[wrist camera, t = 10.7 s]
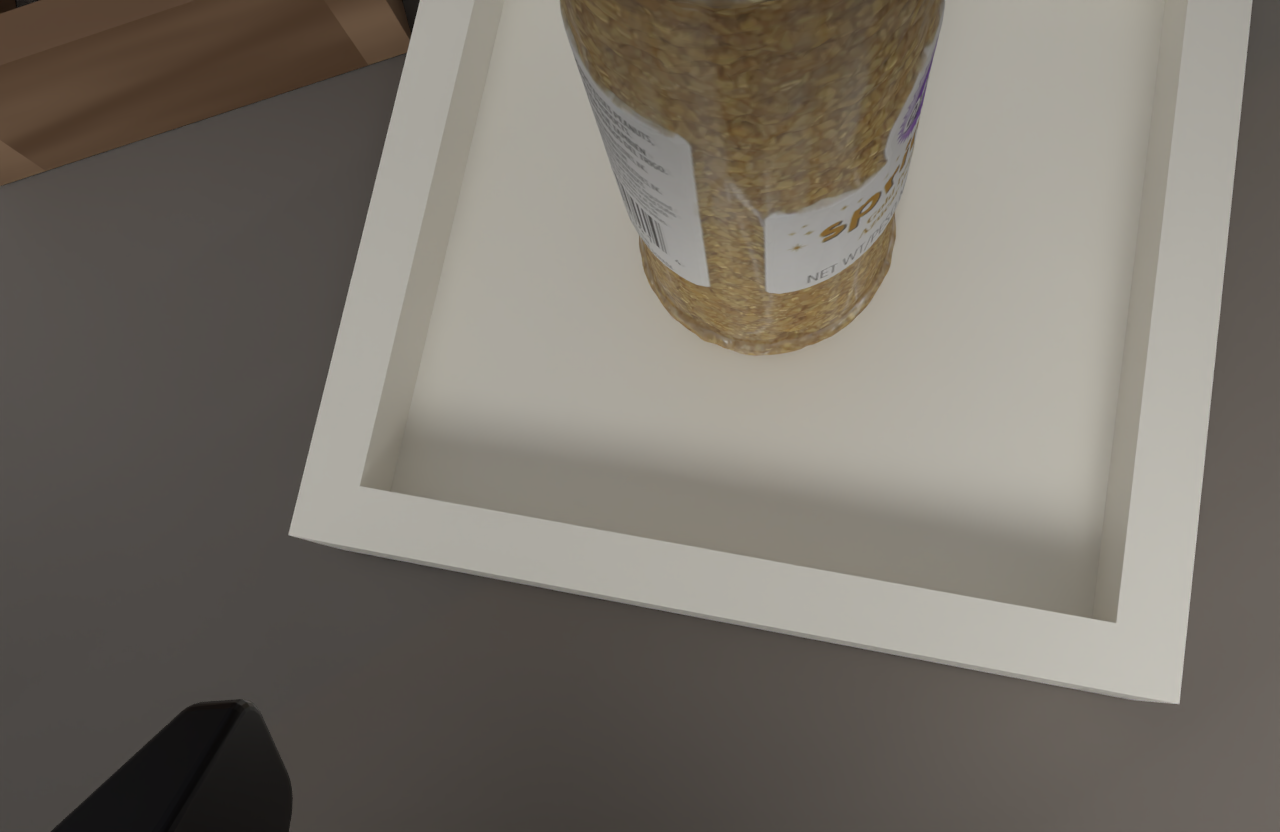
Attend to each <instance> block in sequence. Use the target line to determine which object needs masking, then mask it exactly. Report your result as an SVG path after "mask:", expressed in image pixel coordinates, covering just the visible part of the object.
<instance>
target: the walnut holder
mask: <svg viewBox="0 0 1280 832" xmlns="http://www.w3.org/2000/svg"><path fill="white" fill-rule="evenodd" d="M410 39H411V32H410V28H409V24H408V20H407V17H406V13H405V9H404V6H403V2H402V0H40V1H37V2H34V3H31V4H28V5H25V6H22V7H19V8H16V3H15V0H0V186H2V185H5V184H8V183H11V182H14V181H17V180H20V179H23V178H26V177H29V176H32V175H35V174H38V173H41V172H45V171H48V170H51V169H54V168H57V167H60V166H63V165H66V164H69V163H72V162H75V161H78V160H81V159H84V158H87V157H90V156H93V155H96V154H99V153H102V152H105V151H108V150H112V149H115V148H118V147H121V146H124V145H127V144H130V143H133V142H136V141H139V140H142V139H145V138H148V137H151V136H154V135H157V134H160V133H163V132H166V131H169V130H172V129H175V128H179V127H182V126H185V125H188V124H191V123H194V122H197V121H200V120H203V119H206V118H209V117H212V116H215V115H218V114H221V113H224V112H227V111H230V110H233V109H236V108H239V107H243V106H246V105H249V104H252V103H255V102H258V101H261V100H264V99H267V98H270V97H273V96H276V95H279V94H282V93H285V92H288V91H291V90H294V89H297V88H300V87H303V86H306V85H310V84H313V83H316V82H319V81H322V80H325V79H328V78H331V77H334V76H337V75H340V74H343V73H346V72H349V71H352V70H355V69H358V68H361V67H364V66H367V65H370V64H373V63H377V62H380V61H383V60H386V59H389V58H392V57H395V56H398V55H401V54H404V53H407V51H408V47H409V43H410Z"/></svg>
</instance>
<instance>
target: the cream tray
mask: <svg viewBox="0 0 1280 832" xmlns="http://www.w3.org/2000/svg"><path fill="white" fill-rule="evenodd" d="M1252 1H1253V0H945V9H944V16H943V22H942V26H941V30H940V34H939V37H938V42H937V46H936V50H935V53H934V57H933V61H932V65H931V70H930V74H929V78H928V83H927V87H926V92H925V97H924V102H923V106H922V110H921V114H920V119H919V124H918V129H917V134H916V139H915V144H914V150H913V154H912V158H911V163H910V167H909V171H908V176H907V180H906V183H905V186H904V190H903V193H902V196H901V199H900V201H899V204H898V206H897V208H896V210H895V223H896V240H895V244H894V247H893V252H892V259H891V265H890V268H889V271H888V273H887V274H886V276H885V278H884V279H883V281H882V283H881V285H880V287H879V288H878V290H877V292H876V293H875V295H874V297H873V298H872V300H871V301H870V303H869V304H868V305H867V307H866V308H865V309H864V310H863V311H862V312H861V313H860V314H859V315H858V316H857V317H856V318H855V319H854V320H853V321H852V322H851V323H850V324H849V325H847V326H846V327H845V328H843V329H842V330H840V331H839V332H837V333H836V334H835V335H833V336H832V337H829V338H826V339H824V340H822V341H820V342H818V343H816V344H813V345H808V346H806V347H804V348H802V349H800V350H797V351H793V352H788V353H782V354H775V355H758V356H755V355H746V354H741V353H738V352H735V351H733V350H730V349H726V348H723V347H721V346H719V345H717V344H713V343H709V342H706V341H704V340H702V339H700V338H699V337H698V336H697V335H696V334H694V333H693V332H691V331H690V330H688V329H687V328H685V327H684V326H683V325H682V324H681V323H679V322H678V321H676V320H675V319H674V318H673V317H672V316H671V315H670V314H669V312H668V311H667V310H666V309H665V307H664V306H663V305H662V303H661V302H660V300H659V299H658V297H657V295H656V294H655V293H654V291H653V290H652V288H651V286H650V284H649V282H648V280H647V277H646V275H645V272H644V269H643V265H642V257H641V253H640V248H639V234H638V233H637V231H636V229H635V227H634V226H633V224H632V222H631V220H630V218H629V215H628V213H627V210H626V208H625V205H624V202H623V199H622V196H621V194H620V191H619V188H618V185H617V182H616V179H615V176H614V173H613V171H612V168H611V164H610V161H609V158H608V155H607V152H606V149H605V146H604V143H603V140H602V137H601V134H600V131H599V128H598V126H597V123H596V120H595V117H594V114H593V111H592V108H591V105H590V102H589V99H588V96H587V93H586V90H585V87H584V84H583V81H582V78H581V76H580V73H579V70H578V67H577V64H576V61H575V58H574V55H573V52H572V49H571V46H570V43H569V40H568V37H567V34H566V31H565V28H564V24H563V20H562V16H561V12H560V0H420V2H419V6H418V10H417V14H416V18H415V22H414V26H413V31H412V35H411V39H410V43H409V47H408V51H407V55H406V59H405V63H404V67H403V71H402V75H401V79H400V83H399V87H398V91H397V95H396V100H395V104H394V108H393V112H392V116H391V120H390V124H389V128H388V132H387V136H386V140H385V144H384V148H383V152H382V156H381V160H380V165H379V169H378V173H377V177H376V181H375V185H374V189H373V193H372V197H371V201H370V205H369V209H368V213H367V217H366V221H365V225H364V230H363V234H362V238H361V242H360V246H359V250H358V254H357V258H356V262H355V266H354V270H353V274H352V278H351V282H350V286H349V290H348V295H347V299H346V303H345V307H344V311H343V315H342V319H341V323H340V327H339V331H338V335H337V339H336V343H335V347H334V351H333V355H332V360H331V364H330V368H329V372H328V376H327V380H326V384H325V388H324V392H323V396H322V400H321V404H320V408H319V412H318V416H317V420H316V425H315V429H314V433H313V437H312V441H311V445H310V449H309V453H308V457H307V461H306V465H305V469H304V473H303V477H302V481H301V485H300V490H299V494H298V498H297V502H296V506H295V510H294V514H293V518H292V522H291V526H290V530H289V534H288V535H289V536H293V537H297V538H300V539H304V540H308V541H312V542H315V543H319V544H323V545H326V546H330V547H334V548H337V549H341V550H346V551H351V552H356V553H361V554H367V555H372V556H377V557H382V558H388V559H393V560H398V561H403V562H409V563H414V564H419V565H424V566H430V567H435V568H440V569H445V570H451V571H456V572H461V573H466V574H472V575H477V576H482V577H487V578H493V579H498V580H503V581H508V582H514V583H519V584H524V585H529V586H535V587H540V588H545V589H550V590H556V591H561V592H566V593H571V594H577V595H582V596H587V597H593V598H598V599H603V600H608V601H614V602H619V603H624V604H629V605H635V606H640V607H645V608H650V609H656V610H661V611H666V612H671V613H677V614H682V615H687V616H692V617H698V618H703V619H708V620H713V621H719V622H724V623H729V624H734V625H740V626H745V627H750V628H755V629H761V630H766V631H771V632H776V633H782V634H787V635H792V636H797V637H803V638H808V639H813V640H819V641H824V642H829V643H834V644H840V645H845V646H850V647H855V648H861V649H866V650H871V651H876V652H882V653H887V654H892V655H897V656H903V657H908V658H913V659H918V660H924V661H929V662H934V663H939V664H945V665H950V666H955V667H960V668H966V669H971V670H976V671H981V672H987V673H992V674H997V675H1002V676H1008V677H1013V678H1018V679H1023V680H1029V681H1034V682H1039V683H1044V684H1050V685H1055V686H1060V687H1066V688H1071V689H1076V690H1081V691H1087V692H1092V693H1097V694H1102V695H1108V696H1113V697H1118V698H1123V699H1129V700H1138V701H1149V702H1160V703H1171V704H1179V702H1180V693H1181V683H1182V673H1183V664H1184V654H1185V645H1186V635H1187V625H1188V616H1189V606H1190V597H1191V587H1192V577H1193V568H1194V558H1195V549H1196V539H1197V529H1198V520H1199V510H1200V500H1201V491H1202V481H1203V472H1204V462H1205V452H1206V443H1207V433H1208V424H1209V414H1210V404H1211V395H1212V385H1213V376H1214V366H1215V356H1216V347H1217V337H1218V328H1219V318H1220V308H1221V299H1222V289H1223V279H1224V270H1225V260H1226V251H1227V241H1228V231H1229V222H1230V212H1231V203H1232V193H1233V183H1234V174H1235V164H1236V155H1237V145H1238V135H1239V126H1240V116H1241V107H1242V97H1243V87H1244V78H1245V68H1246V58H1247V49H1248V39H1249V30H1250V20H1251V10H1252Z"/></svg>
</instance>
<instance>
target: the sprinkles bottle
mask: <svg viewBox="0 0 1280 832" xmlns="http://www.w3.org/2000/svg"><path fill="white" fill-rule="evenodd" d="M944 9H945V0H560V12H561V16H562V20H563V24H564V28H565V31H566V34H567V37H568V40H569V43H570V46H571V49H572V52H573V55H574V58H575V61H576V64H577V67H578V70H579V73H580V76H581V78H582V81H583V84H584V87H585V90H586V93H587V96H588V99H589V102H590V105H591V108H592V111H593V114H594V117H595V120H596V123H597V126H598V128H599V131H600V134H601V137H602V140H603V143H604V146H605V149H606V152H607V155H608V158H609V161H610V164H611V168H612V171H613V173H614V176H615V179H616V182H617V185H618V188H619V191H620V194H621V196H622V199H623V202H624V205H625V208H626V210H627V213H628V215H629V218H630V220H631V222H632V224H633V226H634V227H635V229H636V231H637V233H638V234H639V248H640V253H641V257H642V265H643V269H644V272H645V275H646V277H647V280H648V282H649V284H650V286H651V288H652V290H653V291H654V293H655V294H656V295H657V297H658V299H659V300H660V302H661V303H662V305H663V306H664V307H665V309H666V310H667V311H668V312H669V314H670V315H671V316H672V317H673V318H674V319H675V320H676V321H678V322H679V323H681V324H682V325H683V326H684V327H685V328H687V329H688V330H690V331H691V332H693V333H694V334H696V335H697V336H698V337H699V338H700V339H702V340H704V341H706V342H709V343H713V344H717V345H719V346H721V347H723V348H726V349H730V350H733V351H735V352H738V353H741V354H746V355H755V356H758V355H775V354H782V353H788V352H793V351H797V350H800V349H802V348H804V347H806V346H808V345H813V344H816V343H818V342H820V341H822V340H824V339H826V338H829V337H832V336H833V335H835V334H836V333H837V332H839V331H840V330H842V329H843V328H845V327H846V326H847V325H849V324H850V323H851V322H852V321H853V320H854V319H855V318H856V317H857V316H858V315H859V314H860V313H861V312H862V311H863V310H864V309H865V308H866V307H867V305H868V304H869V303H870V301H871V300H872V298H873V297H874V295H875V293H876V292H877V290H878V288H879V287H880V285H881V283H882V281H883V279H884V278H885V276H886V274H887V273H888V271H889V268H890V265H891V259H892V252H893V247H894V244H895V240H896V223H895V210H896V208H897V206H898V204H899V201H900V199H901V196H902V193H903V190H904V186H905V183H906V180H907V176H908V171H909V167H910V163H911V158H912V154H913V150H914V144H915V139H916V134H917V129H918V124H919V119H920V114H921V110H922V106H923V102H924V97H925V92H926V87H927V83H928V78H929V74H930V70H931V65H932V61H933V57H934V53H935V50H936V46H937V42H938V37H939V34H940V30H941V26H942V22H943V16H944Z"/></svg>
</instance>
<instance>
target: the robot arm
mask: <svg viewBox="0 0 1280 832" xmlns="http://www.w3.org/2000/svg"><path fill="white" fill-rule="evenodd" d="M292 799H293V798H292V787H291V783H290V779H289V776H288V773H287V770H286V768H285V766H284V764H283V761H282V759H281V757H280V755H279V752H278V750H277V748H276V746H275V743H274V741H273V739H272V737H271V734H270V732H269V730H268V728H267V725H266V723H265V721H264V719H263V716H262V714H261V713H260V711H259V709H258V708H257V707H256V706H255V705H254V704H253V703H252V702H250V701H248V700H243V699H238V700H225V701H211V702H200V703H196V704H193V705H191V706H189V707H187V708H186V709H185V710H183V711H182V712H181V713H179V714H178V715H177V716H176V717H175V718H174V719H173V720H172V721H171V722H170V723H169V724H167V725H166V726H165V727H164V728H163V729H162V730H161V731H160V732H159V733H158V734H157V735H155V736H154V737H153V738H152V739H151V740H150V741H149V742H148V743H147V744H146V745H145V746H143V747H142V748H141V749H140V750H139V751H138V752H137V753H136V754H135V755H134V756H133V757H131V758H130V759H129V760H128V761H127V762H126V763H125V764H124V765H123V766H122V767H121V768H119V769H118V770H117V771H116V772H115V773H114V774H113V775H112V776H111V777H110V778H109V779H107V780H106V781H105V782H104V783H103V784H102V785H101V786H100V787H99V788H98V789H97V790H95V791H94V792H93V793H92V794H91V795H90V796H89V797H88V798H87V799H86V800H85V801H83V802H82V803H81V804H80V805H79V806H78V807H77V808H76V809H75V810H74V811H73V812H71V813H70V814H69V815H68V816H67V817H66V818H65V819H64V820H63V821H62V822H61V823H59V824H58V825H57V826H56V827H55V828H54V829H53V830H52V831H51V832H289V827H290V821H291V814H292Z"/></svg>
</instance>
